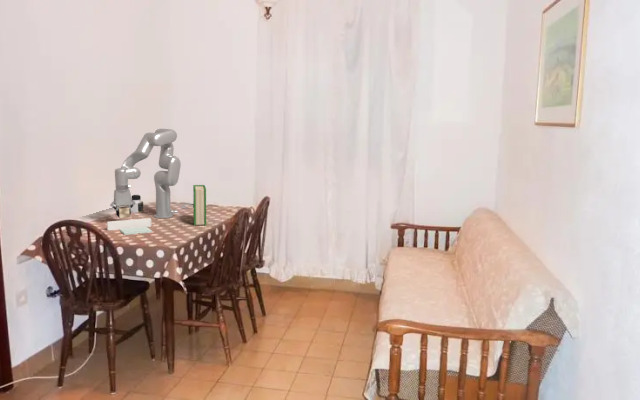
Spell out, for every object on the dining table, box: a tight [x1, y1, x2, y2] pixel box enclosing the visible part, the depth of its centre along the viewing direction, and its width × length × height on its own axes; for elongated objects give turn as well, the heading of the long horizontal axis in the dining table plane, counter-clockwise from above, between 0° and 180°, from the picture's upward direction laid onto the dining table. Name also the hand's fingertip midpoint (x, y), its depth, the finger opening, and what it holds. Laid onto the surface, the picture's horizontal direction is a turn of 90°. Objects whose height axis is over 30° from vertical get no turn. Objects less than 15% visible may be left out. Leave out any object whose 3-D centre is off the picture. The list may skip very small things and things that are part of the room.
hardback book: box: [192, 184, 207, 226], centre depth 352 cm, size 18×7×24 cm, turn 15°
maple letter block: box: [118, 205, 131, 219], centre depth 344 cm, size 6×6×6 cm
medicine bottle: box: [131, 194, 144, 214], centre depth 384 cm, size 7×7×12 cm
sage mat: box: [119, 227, 153, 236], centre depth 325 cm, size 16×12×1 cm
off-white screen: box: [106, 217, 152, 231], centre depth 333 cm, size 26×2×5 cm, turn 123°
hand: (123, 215), depth 344 cm, fingers closed on maple letter block, 6 cm apart
